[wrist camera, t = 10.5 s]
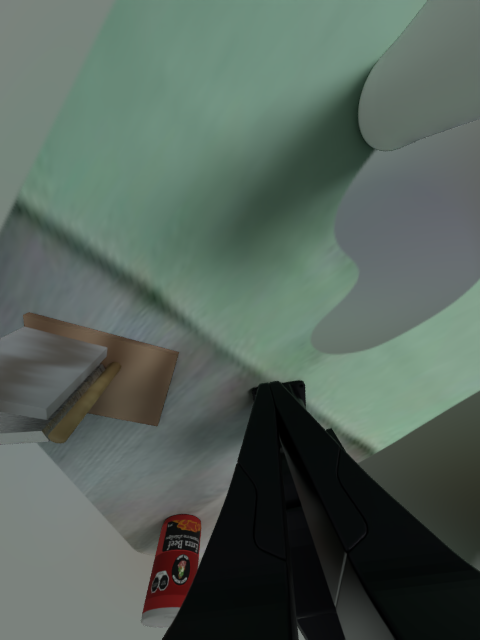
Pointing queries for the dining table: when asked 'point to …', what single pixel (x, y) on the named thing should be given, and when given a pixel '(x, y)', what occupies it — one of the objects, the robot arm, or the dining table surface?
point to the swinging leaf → (30, 430)
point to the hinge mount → (81, 374)
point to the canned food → (172, 569)
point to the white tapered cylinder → (425, 77)
